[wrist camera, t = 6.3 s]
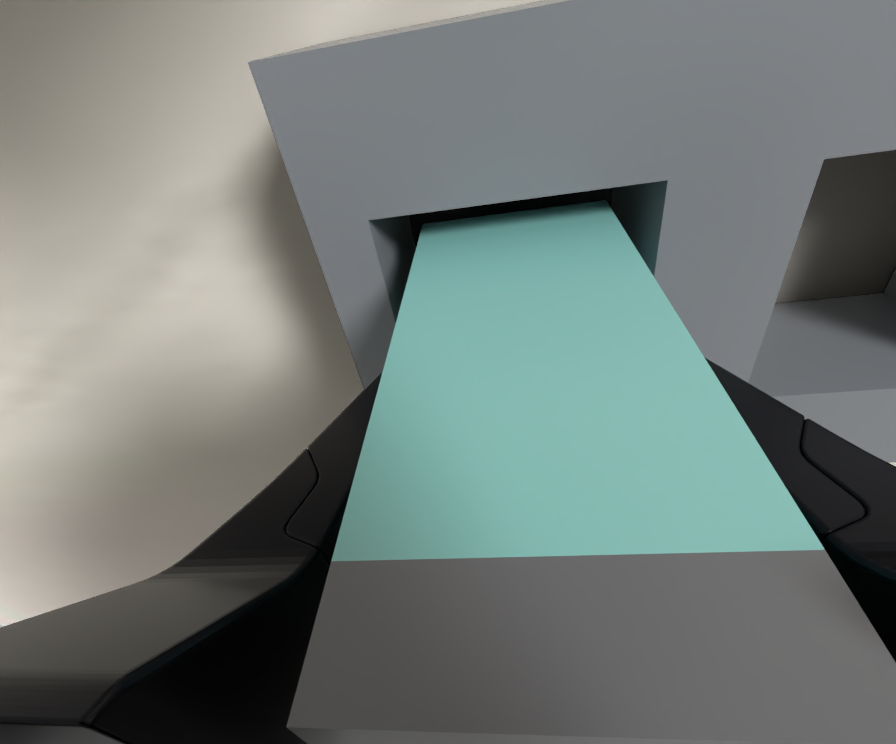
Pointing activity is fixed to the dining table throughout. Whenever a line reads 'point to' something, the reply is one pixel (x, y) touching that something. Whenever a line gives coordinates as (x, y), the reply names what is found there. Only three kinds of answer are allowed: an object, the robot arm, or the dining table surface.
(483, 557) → the plug
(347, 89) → the socket plate
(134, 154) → the dining table surface
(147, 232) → the dining table surface
